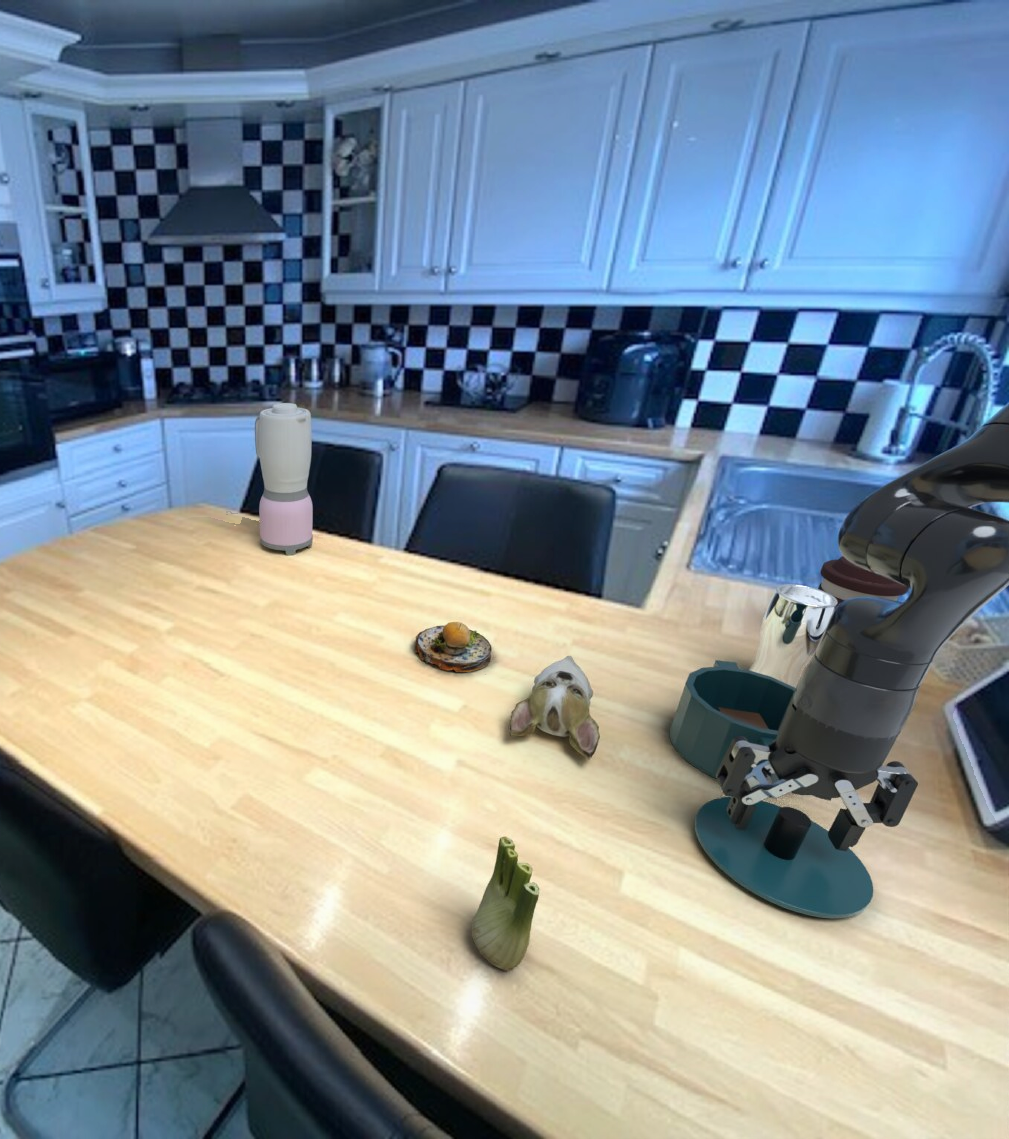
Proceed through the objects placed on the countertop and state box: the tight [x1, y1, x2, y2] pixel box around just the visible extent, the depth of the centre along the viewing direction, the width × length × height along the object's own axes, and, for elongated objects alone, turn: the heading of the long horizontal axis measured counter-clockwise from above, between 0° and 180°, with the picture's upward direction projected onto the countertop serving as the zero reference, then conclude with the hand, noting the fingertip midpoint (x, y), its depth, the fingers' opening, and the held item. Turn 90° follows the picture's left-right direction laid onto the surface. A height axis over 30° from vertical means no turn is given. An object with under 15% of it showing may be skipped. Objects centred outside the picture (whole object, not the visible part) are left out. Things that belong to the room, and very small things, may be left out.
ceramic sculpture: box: [508, 655, 601, 760], centre depth 84 cm, size 11×9×15 cm
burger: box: [414, 621, 493, 673], centre depth 101 cm, size 12×12×8 cm
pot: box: [669, 659, 795, 790], centre depth 78 cm, size 14×19×8 cm
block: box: [717, 707, 768, 729], centre depth 79 cm, size 4×4×4 cm
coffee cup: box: [817, 555, 910, 609], centre depth 97 cm, size 10×10×15 cm
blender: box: [254, 402, 314, 556], centre depth 139 cm, size 16×12×32 cm
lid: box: [694, 796, 874, 919], centre depth 64 cm, size 15×15×6 cm
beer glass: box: [748, 583, 838, 688], centre depth 89 cm, size 7×7×15 cm
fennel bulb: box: [470, 836, 540, 972], centre depth 55 cm, size 6×5×12 cm
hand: (785, 833), depth 64 cm, fingers open, 8 cm apart
